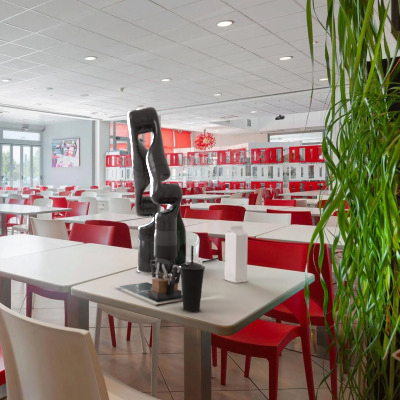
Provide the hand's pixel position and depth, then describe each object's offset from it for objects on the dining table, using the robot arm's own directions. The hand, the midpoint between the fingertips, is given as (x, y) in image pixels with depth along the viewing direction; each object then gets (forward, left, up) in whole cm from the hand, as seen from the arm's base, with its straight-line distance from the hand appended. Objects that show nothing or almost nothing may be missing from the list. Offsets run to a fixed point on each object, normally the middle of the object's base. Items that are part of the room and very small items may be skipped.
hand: (164, 293), depth 141 cm
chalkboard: (0, -7, -2) cm, 8 cm away
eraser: (0, 0, -1) cm, 1 cm away
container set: (-35, -25, -2) cm, 44 cm away
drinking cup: (0, +13, -2) cm, 13 cm away
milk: (-42, -8, -2) cm, 43 cm away
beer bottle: (-43, -46, -2) cm, 63 cm away
